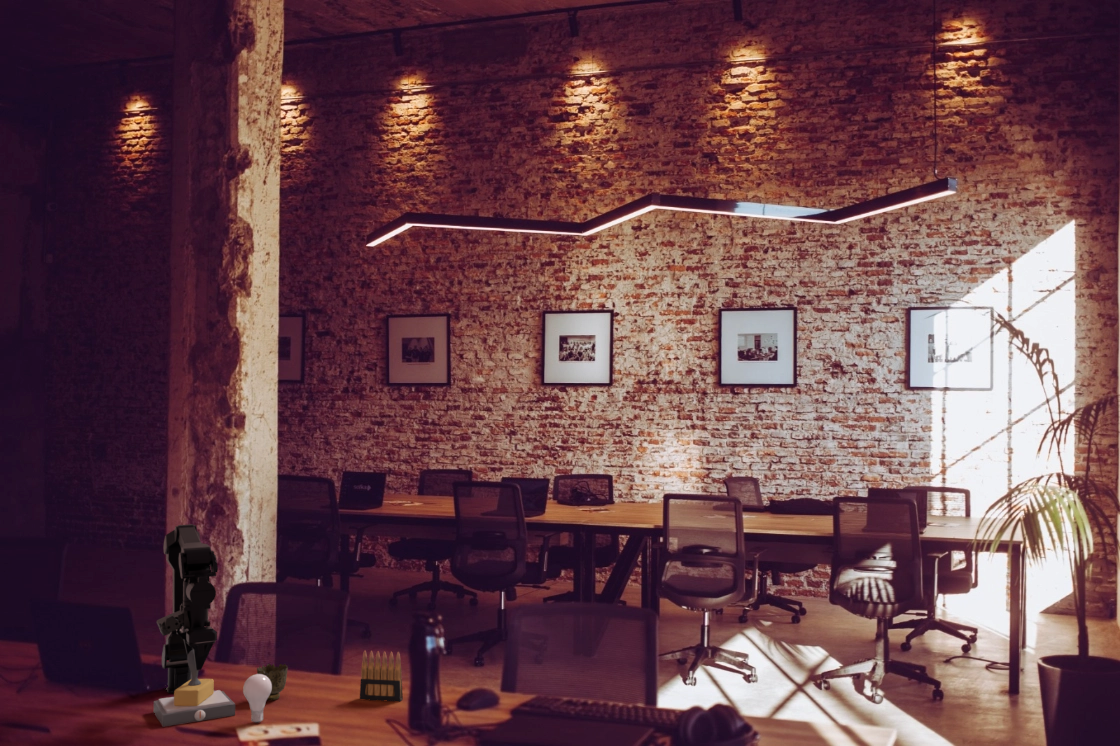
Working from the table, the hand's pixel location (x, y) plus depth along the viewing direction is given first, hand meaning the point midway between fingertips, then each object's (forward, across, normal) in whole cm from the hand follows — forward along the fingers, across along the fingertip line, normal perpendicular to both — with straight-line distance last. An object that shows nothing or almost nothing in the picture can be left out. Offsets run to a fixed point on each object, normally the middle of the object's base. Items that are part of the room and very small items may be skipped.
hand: (194, 665), depth 227 cm
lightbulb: (+12, +15, +11) cm, 22 cm away
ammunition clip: (+12, +13, +42) cm, 45 cm away
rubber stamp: (+8, 0, 0) cm, 8 cm away
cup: (+12, -2, +19) cm, 22 cm away
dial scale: (+11, 0, 0) cm, 11 cm away
